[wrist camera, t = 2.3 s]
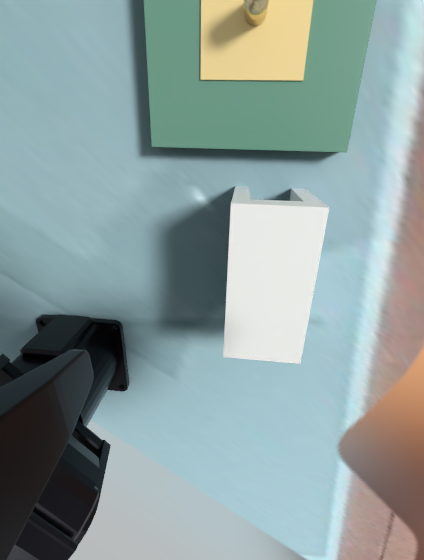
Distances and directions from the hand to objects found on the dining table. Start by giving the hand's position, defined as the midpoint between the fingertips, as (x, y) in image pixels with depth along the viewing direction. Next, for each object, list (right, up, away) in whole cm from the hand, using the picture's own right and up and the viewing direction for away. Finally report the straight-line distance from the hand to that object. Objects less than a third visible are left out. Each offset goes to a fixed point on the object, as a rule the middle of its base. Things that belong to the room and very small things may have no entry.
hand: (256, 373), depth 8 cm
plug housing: (+2, +4, +11) cm, 12 cm away
